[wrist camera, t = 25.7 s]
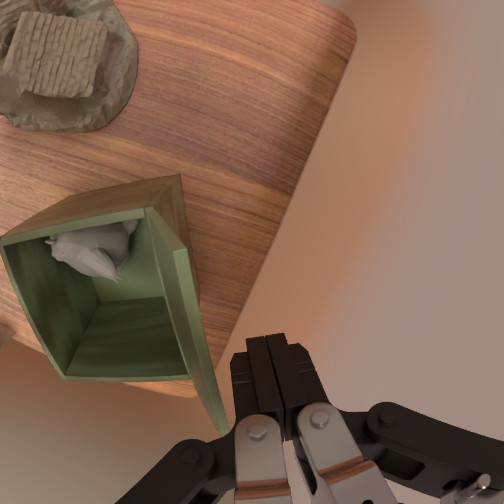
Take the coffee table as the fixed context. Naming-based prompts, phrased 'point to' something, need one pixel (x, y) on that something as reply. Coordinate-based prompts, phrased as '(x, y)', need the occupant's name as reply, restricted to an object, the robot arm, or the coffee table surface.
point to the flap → (187, 317)
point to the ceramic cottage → (64, 64)
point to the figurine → (95, 248)
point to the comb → (5, 336)
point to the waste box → (102, 287)
